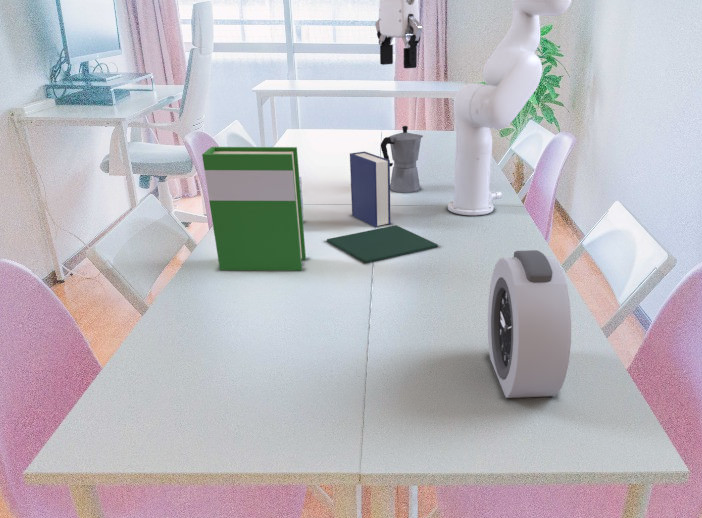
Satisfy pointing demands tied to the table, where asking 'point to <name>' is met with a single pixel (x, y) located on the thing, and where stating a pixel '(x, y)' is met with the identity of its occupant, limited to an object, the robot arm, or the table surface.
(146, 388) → the table surface
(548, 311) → the alarm clock
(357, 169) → the navy book
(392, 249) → the desk pad
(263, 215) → the hardback book
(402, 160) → the coffeepot
